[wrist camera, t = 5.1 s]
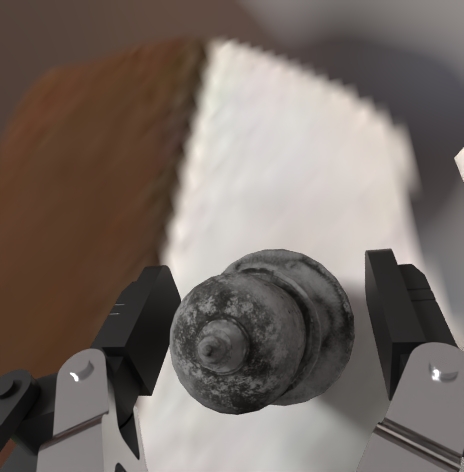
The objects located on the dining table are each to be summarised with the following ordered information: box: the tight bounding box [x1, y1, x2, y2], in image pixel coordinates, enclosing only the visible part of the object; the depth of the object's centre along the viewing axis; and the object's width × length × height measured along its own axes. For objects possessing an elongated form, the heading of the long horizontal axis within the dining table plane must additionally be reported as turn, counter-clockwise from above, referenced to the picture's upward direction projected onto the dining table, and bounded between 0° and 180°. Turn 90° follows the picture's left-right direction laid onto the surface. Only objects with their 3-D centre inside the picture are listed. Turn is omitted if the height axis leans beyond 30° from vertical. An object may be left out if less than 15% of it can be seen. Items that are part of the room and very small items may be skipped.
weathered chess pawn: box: [170, 249, 354, 415], centre depth 11 cm, size 6×6×12 cm
